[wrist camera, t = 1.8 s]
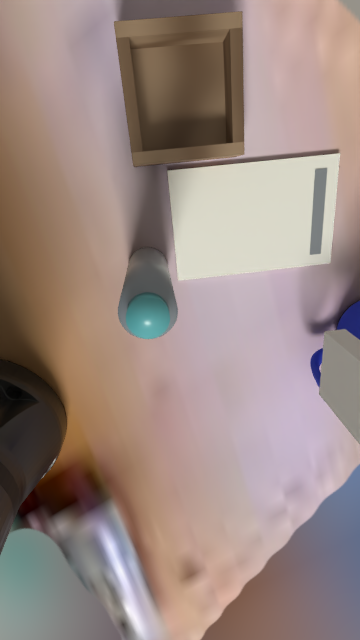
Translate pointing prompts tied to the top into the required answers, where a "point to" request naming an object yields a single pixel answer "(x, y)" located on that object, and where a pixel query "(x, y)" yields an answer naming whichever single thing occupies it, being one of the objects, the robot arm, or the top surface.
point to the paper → (253, 215)
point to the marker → (147, 296)
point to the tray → (183, 87)
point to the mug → (354, 320)
